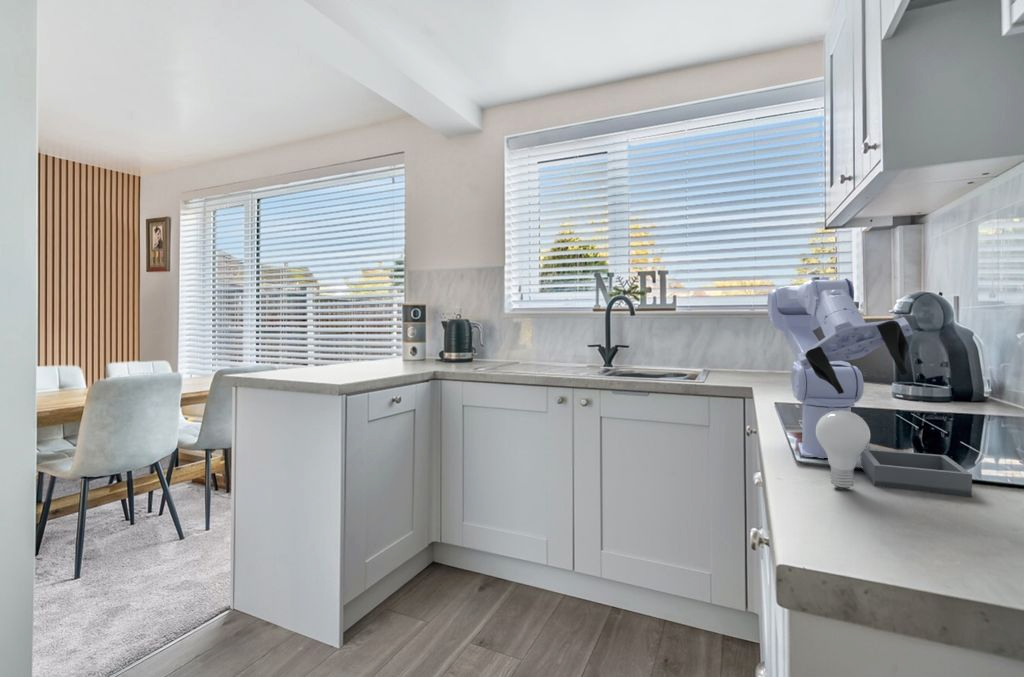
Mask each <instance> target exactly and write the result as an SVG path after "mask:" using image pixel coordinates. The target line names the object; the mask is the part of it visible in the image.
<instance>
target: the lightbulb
mask: <svg viewBox="0 0 1024 677" xmlns="http://www.w3.org/2000/svg"><path fill="white" fill-rule="evenodd" d="M866 422H867V421H865V420H864V419H863V418H862V417H861V416H860V415H858V414H857V413H855V412H852V411H851V412H849V411H845V410H836V411H831V412H829V413H827V414H825V415H824V416H822V417H821V418H820V420H819V421H818V423H817V426H816V437H817V439H818V442H819V443H820V445H821V446H822V448H823V449H824V451H825V452H826V454H827V457H828V459H827V461H828V464H829V466H830V473H831V474H830V479H831V480H830V484H831V485H832V486H834V487H835V488H837V489H839V490H841V491H843V490H844V491H845V490H848V489H850V488H853V487H855V486H854V480H855V479H854V474H855V470H854V469H855V468H856V467H857V463H858V459H859V457H861V453H862V452H863V451H864V450H865V449H867V447H868V445H869V443H870V440H871V430H870V427H869V425H868V424H867V423H866Z"/></svg>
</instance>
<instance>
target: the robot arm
mask: <svg viewBox="0 0 1024 677" xmlns="http://www.w3.org/2000/svg"><path fill="white" fill-rule="evenodd" d="M766 302H767V304H766V305H767V313H768V314H767V315H768V318H769V320H770V322H771V324H772V325H773V327H774V328H776V329H778V330H780V331H781V332H782V334H783V336H784V337H785V339H786V342H787V344H788V345H789V348H790V350H791V351H792V353H793V355H794V357H795V358H796V361H794V362H793V364H792V367H791V371H790V372H791V373H790V383H791V388H792V390H791V391H792V393H793V397H794V398H795V399H796V400H797V401H799V402H801V403H802V411H801V412H802V419H801V420H802V422H801V424H802V431H801V432H802V433H801V434H802V439H801V440H802V441H801V442H798V444H797V446H798V450H799V453H801V454H800V456H801V455H802V456H801V457H803V456H809V457H808V458H813V457H818V458H817V459H824V458H828V457H827V454H826V452H825V451H824V449H823V448H822V446H821V445H820V443H819V442H818V439H817V437H816V426H817V423H818V421H819V420H820V418H821V417H822V416H824V415H825V414H827V413H829V412H831V411H836V410H845V411H849V412H852V411H851V410H852V408H851V407H855V406H856V405H855V403H858V402H859V401H860V400H861V399H862V397H863V394H864V389H865V388H864V387H865V386H864V385H865V382H864V378H863V374H862V371H861V370H860V369H859V368H858V367H857V366H856V365H851V363H850V362H848V361H851V360H852V361H853V360H858V359H861V358H863V357H865V356H866V355H868V354H870V353H871V352H873V351H875V350H876V349H878V348H880V347H881V346H883V345H884V344H885V346H886V349H887V350H888V353H889V355H890V356H891V358H892V359H893V361H894V364H895V366H896V367H897V370H898V372H899V373H900V376H905V375H907V374H908V371H907V368H906V356H907V354H908V351H909V342H908V341H907V338H906V337H908V336H911V335H914V332H913V330H912V327H911V326H910V323H909V322H908V320H907V319H906V318H905V316H902V317H899V318H895V319H890V320H881V321H872V322H866V320H865V319H864V317H863V316H862V314H861V312H860V310H859V309H858V307H857V306H856V303H855V288H854V284H853V281H852V280H851V279H850V278H848V277H847V278H841V279H838V278H837V279H836V278H835V279H830V278H829V277H828V276H812V277H811V278H810V280H808V281H805V282H804V283H802V284H801V285H789V286H782V287H778V288H775V289H771V290H770V291H769V292H768V294H767V301H766ZM819 328H821V330H822V333H823V335H824V338H822V339H821V340H819V339H818V337H817V336H816V334H815V333H814V330H816V329H819Z"/></svg>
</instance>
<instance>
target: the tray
mask: <svg viewBox="0 0 1024 677" xmlns="http://www.w3.org/2000/svg"><path fill="white" fill-rule="evenodd" d="M860 458H861V460H860V461H861V462H860V467H861V466H862V467H863V469H862V471H863V472H864V473H865V475H866V476H867V478H868V480H869V481H870V482H871V485H873V486H874V487H877V488H886V489H887V488H888V489H893V490H895V489H896V490H904V491H913V492H923V493H929V494H930V493H933V494H941V495H952V496H958V497H959V496H961V497H966V498H972V497H973V474H972V473H971V472H969V471H968V470H967V469H965V468H964V467H963V466H961V465H960V464H958V463H957V462H956V461H954V460H953V459H952V458H951V457H949V456H948V455H947V454H946V455H945V454H944V455H943V454H933V453H919V452H909V451H897V450H896V451H895V450H886V449H885V450H884V449H883V450H882V449H873V448H866V449H865V450H864V451H863V452H862V453H861V454H860Z"/></svg>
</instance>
